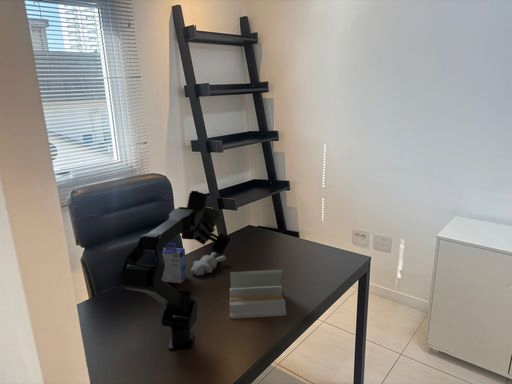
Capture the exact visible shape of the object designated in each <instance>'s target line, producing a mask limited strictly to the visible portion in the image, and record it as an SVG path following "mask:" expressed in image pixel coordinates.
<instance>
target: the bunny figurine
mask: <svg viewBox="0 0 512 384" xmlns="http://www.w3.org/2000/svg"><path fill="white" fill-rule="evenodd" d="M216 255H217V253H216V252H214V251H212V252H211V253H210V255H208V254H205V255H203V256H202V257H201V258H200V260H195V261H194V260H193V262H192V263H193V265H192V267H191V269H190V273H191V274H193V275H195V276H204V275H205V273H212V272H213V270H214V269H216V268H217V265H218V263H219V262H223V261H225V260H227V258H226V256H225V255H224V256H221V255H220V256H218V257H216ZM215 257H216V258H215Z"/></svg>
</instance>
